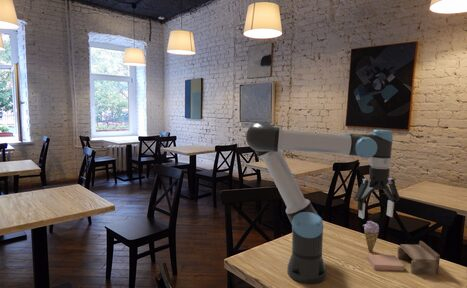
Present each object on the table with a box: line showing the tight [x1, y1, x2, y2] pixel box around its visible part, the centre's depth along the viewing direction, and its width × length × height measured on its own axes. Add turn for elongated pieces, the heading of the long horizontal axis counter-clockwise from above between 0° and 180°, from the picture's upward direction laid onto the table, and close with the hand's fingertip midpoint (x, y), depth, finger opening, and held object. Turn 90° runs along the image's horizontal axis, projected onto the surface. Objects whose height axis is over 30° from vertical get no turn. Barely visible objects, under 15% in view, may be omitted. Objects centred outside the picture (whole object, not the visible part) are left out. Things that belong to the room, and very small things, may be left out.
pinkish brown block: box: [365, 254, 406, 271], centre depth 129 cm, size 12×9×2 cm
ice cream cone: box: [362, 220, 380, 253], centre depth 141 cm, size 7×6×15 cm
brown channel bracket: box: [396, 240, 441, 276], centre depth 128 cm, size 10×13×8 cm
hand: (375, 216), depth 129 cm, fingers open, 13 cm apart
